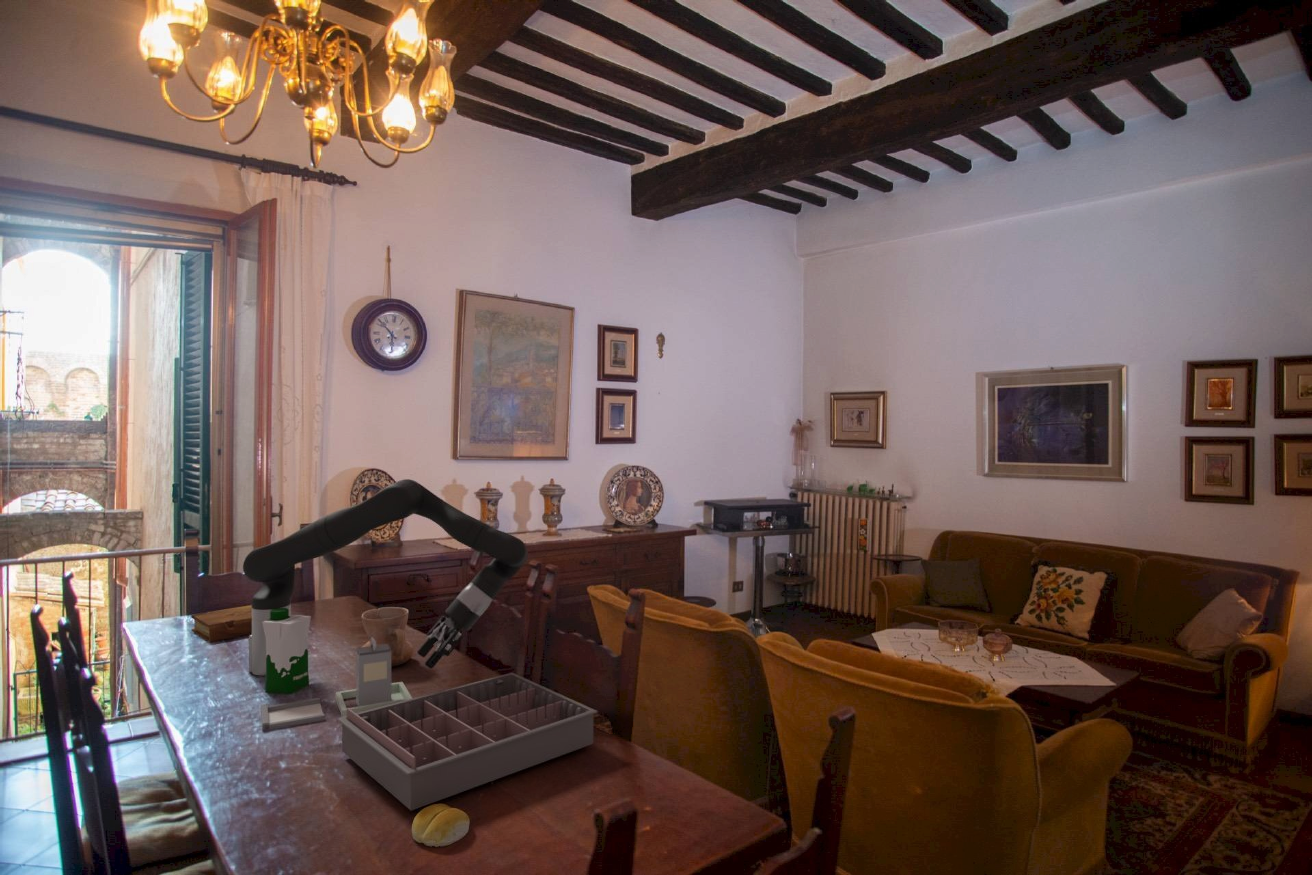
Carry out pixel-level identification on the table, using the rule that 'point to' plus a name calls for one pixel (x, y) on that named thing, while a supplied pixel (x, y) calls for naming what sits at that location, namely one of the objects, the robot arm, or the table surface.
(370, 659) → the labeled grey carton
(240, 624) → the diary
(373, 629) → the ceramic jug
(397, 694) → the tray
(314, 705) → the bay
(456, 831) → the bread roll
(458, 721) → the organizer tray
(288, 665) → the milk carton
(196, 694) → the table surface
